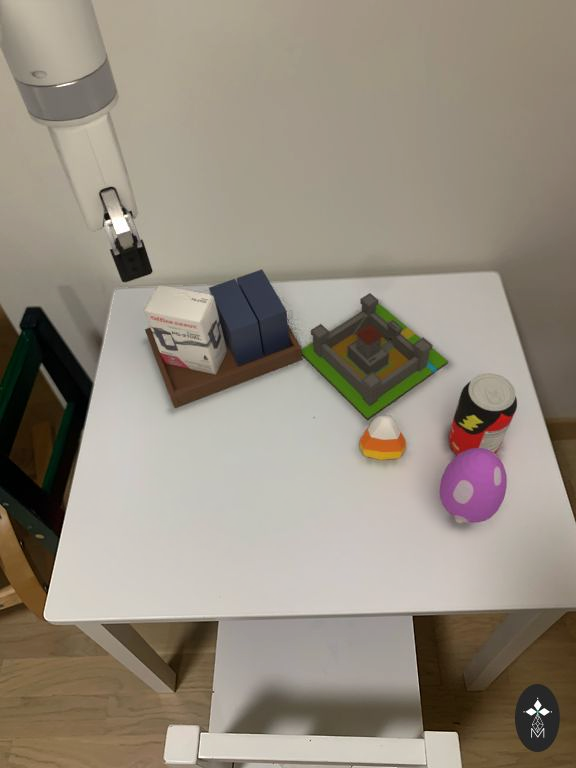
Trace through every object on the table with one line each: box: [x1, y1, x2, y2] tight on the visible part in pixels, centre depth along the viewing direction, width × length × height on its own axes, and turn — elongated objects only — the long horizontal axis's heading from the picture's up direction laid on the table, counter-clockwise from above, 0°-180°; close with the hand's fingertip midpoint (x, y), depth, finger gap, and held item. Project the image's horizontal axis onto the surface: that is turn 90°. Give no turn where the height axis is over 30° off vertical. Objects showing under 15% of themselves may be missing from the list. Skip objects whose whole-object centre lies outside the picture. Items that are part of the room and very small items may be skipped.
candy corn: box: [358, 414, 407, 461], centre depth 74 cm, size 6×3×8 cm, turn 83°
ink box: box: [143, 285, 227, 375], centre depth 82 cm, size 8×5×12 cm, turn 73°
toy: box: [438, 448, 508, 524], centre depth 65 cm, size 7×7×15 cm
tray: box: [144, 324, 303, 409], centre depth 87 cm, size 20×14×3 cm
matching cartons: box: [208, 269, 290, 367], centre depth 86 cm, size 8×9×8 cm
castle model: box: [301, 292, 449, 421], centre depth 83 cm, size 15×15×7 cm
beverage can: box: [448, 372, 518, 456], centre depth 72 cm, size 6×6×12 cm
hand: (125, 247), depth 62 cm, fingers open, 9 cm apart
